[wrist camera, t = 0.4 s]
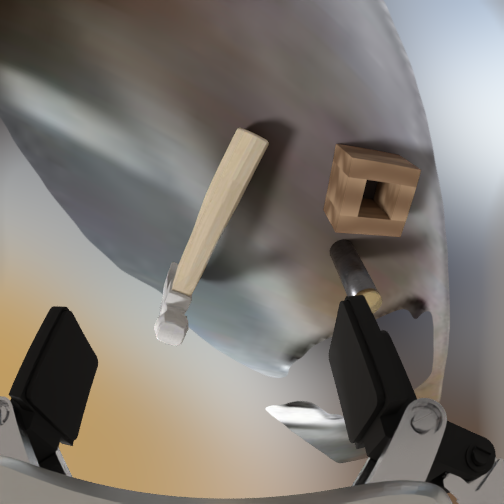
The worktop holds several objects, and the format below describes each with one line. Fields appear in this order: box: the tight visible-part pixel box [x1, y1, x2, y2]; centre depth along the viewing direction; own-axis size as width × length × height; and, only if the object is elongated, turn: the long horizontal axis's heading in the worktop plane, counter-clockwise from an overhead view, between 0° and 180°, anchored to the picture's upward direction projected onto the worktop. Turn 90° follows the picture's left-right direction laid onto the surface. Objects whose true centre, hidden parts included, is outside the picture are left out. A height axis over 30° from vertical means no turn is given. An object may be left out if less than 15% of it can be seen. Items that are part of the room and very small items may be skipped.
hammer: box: [154, 128, 269, 346], centre depth 43 cm, size 16×5×30 cm
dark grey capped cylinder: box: [330, 240, 382, 313], centre depth 46 cm, size 4×4×14 cm
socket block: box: [323, 144, 421, 237], centre depth 42 cm, size 11×11×7 cm
